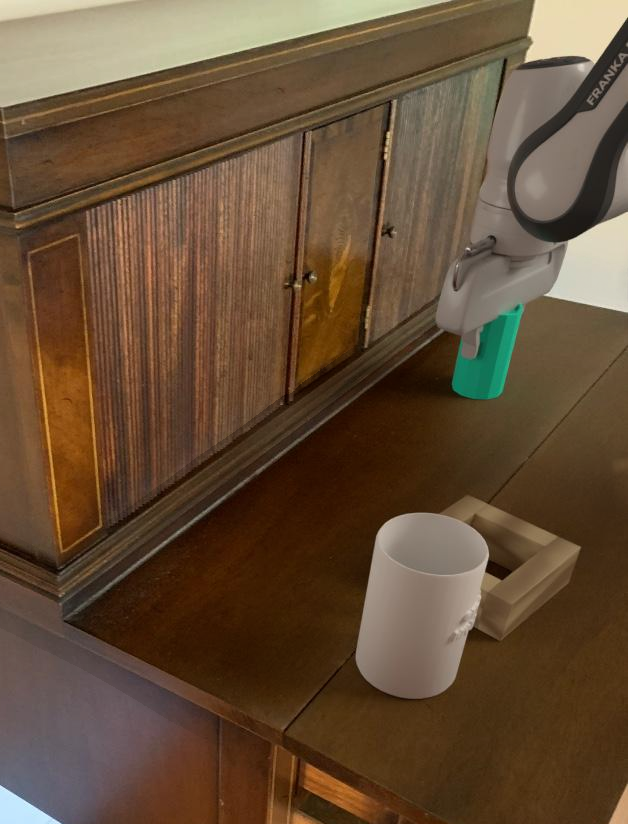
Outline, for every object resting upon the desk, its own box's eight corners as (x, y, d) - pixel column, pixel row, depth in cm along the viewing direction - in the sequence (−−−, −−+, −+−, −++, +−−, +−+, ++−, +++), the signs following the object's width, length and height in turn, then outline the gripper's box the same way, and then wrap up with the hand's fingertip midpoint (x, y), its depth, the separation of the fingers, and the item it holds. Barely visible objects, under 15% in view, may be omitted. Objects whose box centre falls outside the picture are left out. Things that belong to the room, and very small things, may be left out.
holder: (568, 583, 82) (581, 546, 79) (500, 641, 76) (511, 604, 73) (459, 529, 88) (467, 494, 86) (387, 579, 82) (394, 543, 80)
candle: (489, 375, 114) (512, 279, 106) (510, 397, 110) (536, 299, 102) (443, 379, 113) (463, 282, 106) (463, 401, 109) (485, 302, 101)
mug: (465, 613, 79) (497, 495, 71) (456, 710, 70) (491, 586, 62) (368, 595, 80) (389, 478, 73) (348, 687, 72) (369, 564, 64)
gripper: (487, 257, 92) (459, 384, 101) (586, 214, 103) (553, 332, 112) (434, 241, 96) (412, 365, 104) (535, 202, 107) (507, 317, 115)
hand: (486, 348), depth 108 cm, fingers closed on candle, 5 cm apart
